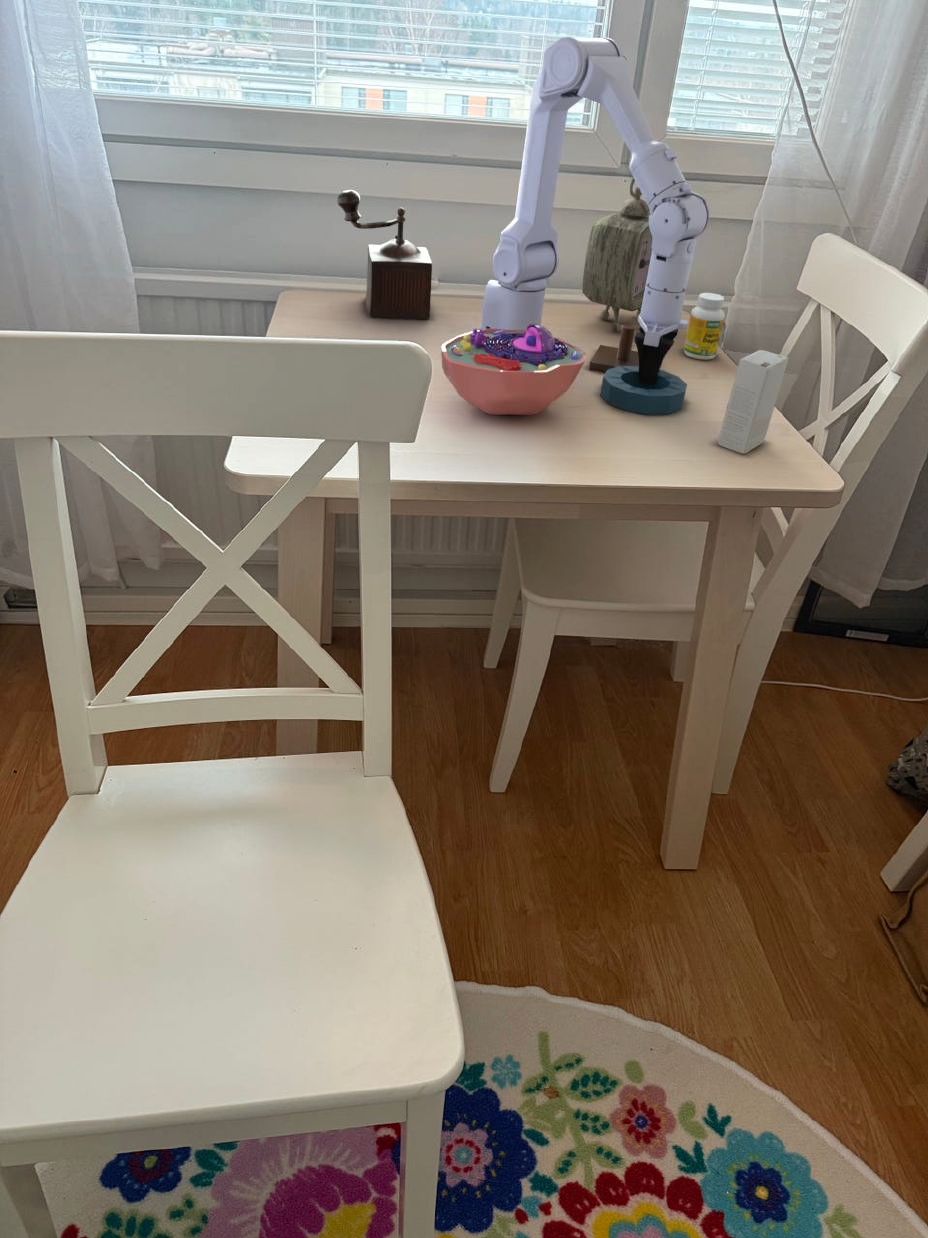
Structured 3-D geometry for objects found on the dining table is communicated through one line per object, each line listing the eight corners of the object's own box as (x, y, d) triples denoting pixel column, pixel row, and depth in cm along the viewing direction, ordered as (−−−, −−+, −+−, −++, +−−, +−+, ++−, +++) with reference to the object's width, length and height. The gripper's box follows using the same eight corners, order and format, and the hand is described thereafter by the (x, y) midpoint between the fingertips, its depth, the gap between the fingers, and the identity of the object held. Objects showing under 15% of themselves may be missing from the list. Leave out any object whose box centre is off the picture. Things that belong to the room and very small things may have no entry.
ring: (594, 404, 138) (597, 385, 136) (608, 378, 147) (611, 360, 146) (677, 420, 136) (681, 401, 134) (686, 392, 145) (690, 374, 144)
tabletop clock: (620, 337, 164) (648, 178, 150) (573, 325, 168) (595, 168, 154) (653, 318, 175) (681, 168, 161) (607, 307, 179) (631, 159, 165)
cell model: (418, 389, 137) (422, 309, 131) (544, 381, 144) (554, 304, 138) (462, 438, 125) (470, 352, 118) (598, 426, 132) (613, 344, 125)
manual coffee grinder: (423, 300, 173) (430, 192, 163) (430, 320, 164) (437, 206, 154) (336, 296, 170) (336, 186, 160) (338, 316, 161) (339, 201, 151)
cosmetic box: (736, 433, 134) (758, 347, 127) (766, 444, 131) (790, 356, 125) (715, 445, 130) (737, 356, 123) (745, 456, 127) (769, 367, 121)
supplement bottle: (699, 347, 163) (712, 289, 158) (722, 357, 160) (736, 299, 155) (676, 351, 161) (688, 292, 155) (699, 362, 157) (712, 302, 152)
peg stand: (588, 369, 150) (595, 329, 147) (599, 351, 157) (605, 313, 154) (646, 379, 148) (654, 339, 145) (654, 361, 156) (661, 323, 152)
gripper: (688, 304, 130) (668, 400, 138) (699, 278, 142) (680, 368, 149) (637, 296, 132) (619, 391, 139) (651, 271, 143) (634, 360, 151)
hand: (647, 379), depth 144 cm, fingers closed on ring, 2 cm apart
